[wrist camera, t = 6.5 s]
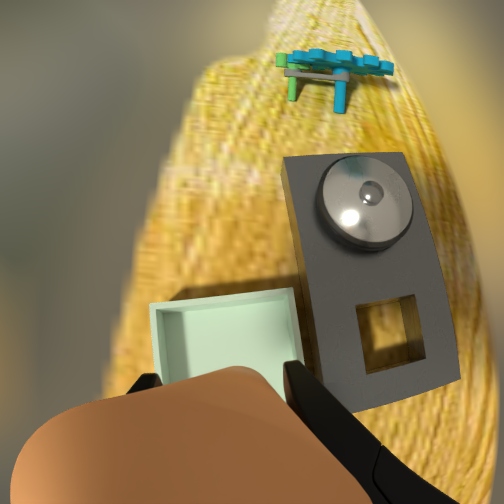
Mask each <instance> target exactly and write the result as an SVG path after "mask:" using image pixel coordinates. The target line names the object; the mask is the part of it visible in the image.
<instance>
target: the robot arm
mask: <svg viewBox="0 0 504 504" xmlns="http://www.w3.org/2000/svg"><path fill="white" fill-rule="evenodd" d="M159 386H163V384H162V381H161V378H160V376H159V375H158V374H157V373H144V374H142V375H141V376H140V377H139V379H138V380H137V381H136V382H135V383H134V385H133V386H132V387H131V388H130V390H129V391H128V392H127V393H126V394H131V393H135V392H139V391H143V390H147V389H151V388H155V387H159ZM283 387H284V393H285V399H286V403H287V405H288V406H289V407H290V408H291V409H292V410H293V412H294V413H295V414H296V415H297V416H298V417H299V418H300V419H301V421H302V422H303V423H304V424H305V425H306V426H307V427H308V428H309V430H310V431H311V432H312V433H313V434H314V435H315V436H316V437H317V438H318V439H319V441H320V442H321V443H322V444H323V445H324V446H325V447H326V448H327V449H328V450H329V451H330V452H331V454H332V455H333V456H334V457H335V458H336V459H337V460H338V461H339V462H340V463H341V464H342V465H343V466H344V467H345V468H346V469H347V470H348V471H349V473H350V474H351V475H352V476H353V477H354V478H355V479H356V480H357V481H358V483H359V484H360V485H361V487H362V488H363V489H364V491H365V492H366V493H367V494H368V496H369V497H370V499H371V501H372V503H373V504H460V503H458V502H456V501H455V500H453V499H452V498H450V497H449V496H447V495H446V494H444V493H443V492H441V491H440V490H439V489H437V488H436V487H434V486H433V485H431V484H430V483H428V482H427V481H425V480H424V479H423V478H421V477H420V476H419V475H417V474H416V473H415V472H413V471H412V470H411V469H409V468H408V467H407V466H406V465H405V464H404V463H402V462H401V461H400V460H399V459H398V458H397V457H396V456H395V455H393V454H392V453H391V452H390V451H389V450H388V449H387V448H386V447H385V446H384V445H382V446H381V442H380V441H379V440H378V439H377V438H376V437H375V436H374V435H373V434H372V433H371V432H370V431H369V430H368V429H367V428H366V427H365V426H364V425H363V424H362V423H361V422H360V421H359V420H358V419H356V418H355V417H354V416H353V415H352V414H351V413H350V412H349V411H348V409H347V408H346V407H345V406H344V405H343V404H342V403H341V402H340V401H339V400H338V399H337V398H336V397H335V396H334V395H333V394H332V393H331V392H330V391H329V390H328V389H327V388H326V387H325V386H324V385H323V384H322V383H321V382H320V381H319V380H318V379H317V378H316V377H315V376H314V375H313V374H312V373H311V372H310V371H309V370H308V369H307V368H306V367H305V365H304V364H303V363H302V362H301V361H299V360H291V361H285V362H284V363H283Z"/></svg>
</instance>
